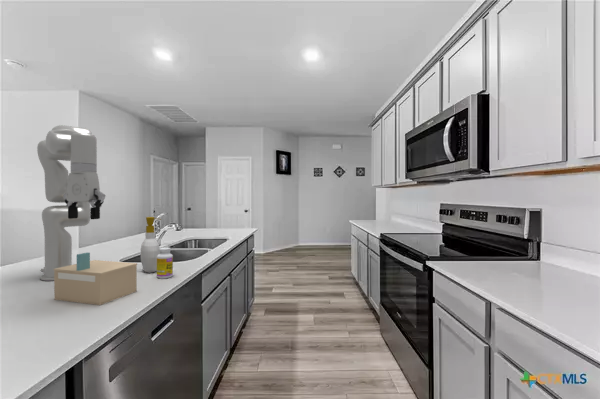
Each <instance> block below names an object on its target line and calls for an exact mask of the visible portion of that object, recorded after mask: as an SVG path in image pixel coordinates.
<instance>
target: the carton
mask: <svg viewBox="0 0 600 399" xmlns="http://www.w3.org/2000/svg"><path fill="white" fill-rule="evenodd" d="M137 265H138V264H137ZM137 265H135V266H132V267H128V268H124V269H121V270H117V271H113V272H110V273H106V274H102V275H96V274H85V273H74V272H63V271H54V280H53V282H54V283H53V285H54V286H53V287H54V288H53V289H54V295H53V296H54V301H61V302H62V301H63V302H72V303H79V304H80V303H81V304H86V305H87V304H89V305H95V306H96V305H97V306H102V305H104V304H107V303H110V302H113V301H114V300H115V301H116V300H117V299H120V298H123V297H126V296H129V295H130V294H133V293H136V292H138V291H137V289H138V288H137V284H138V283H137V282H138V281H137V280H138V278H137V272H138V271H137V270H138V268H137Z"/></svg>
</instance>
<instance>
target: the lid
mask: <svg viewBox="0 0 600 399" xmlns="http://www.w3.org/2000/svg"><path fill="white" fill-rule="evenodd" d="M135 265H138V262H126V261H124V262H123V261H112V260H111V261H109V260H100V259H99V260H97V259H93V260H91V253H90V252H84V253H83V252H82V253H78V254H76V263H75V264H72V265H69V266H65V267H60V268H56V269H54V271H63V272H74V273H85V274H96V275H102V274H106V273H110V272H113V271H117V270H121V269H124V268H128V267H132V266H135Z"/></svg>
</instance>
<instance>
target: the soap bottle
mask: <svg viewBox="0 0 600 399" xmlns="http://www.w3.org/2000/svg"><path fill="white" fill-rule="evenodd" d="M145 220H146V227H145V238H144V240H143V241H142V243H141V247H140V263H141V266H142V269H143V271H144V272H145V273H149V274H151V273H155V272H157V255H158V254H160V252H159V249H160V248H161V247H160V244H159V242H158V240H157V239H156V233H155V226H154V223H155V220H159V221H161V220H162V218H155V217H154V216H145Z"/></svg>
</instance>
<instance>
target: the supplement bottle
mask: <svg viewBox="0 0 600 399" xmlns="http://www.w3.org/2000/svg"><path fill="white" fill-rule="evenodd" d="M159 248H160V249H159V252H160V254H158V255H157V271H156V278H157V279H169V278H172V277H173V275H174V274H173V272H174V270H173V268H174V255H173V254H172V253H171V250H172V249H171V247H159Z"/></svg>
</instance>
